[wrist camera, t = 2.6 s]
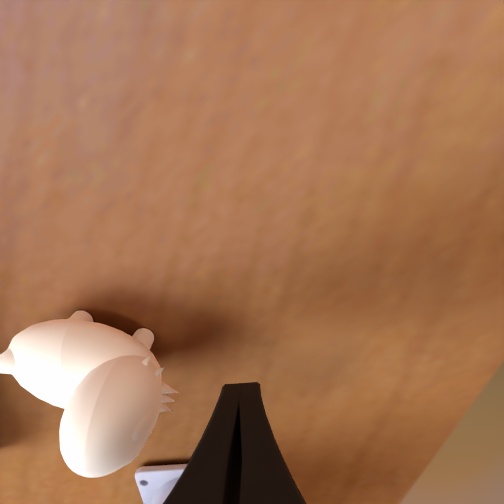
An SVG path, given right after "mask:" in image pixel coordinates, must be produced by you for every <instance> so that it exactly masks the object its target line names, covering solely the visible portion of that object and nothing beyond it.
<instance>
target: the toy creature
mask: <svg viewBox="0 0 504 504" xmlns="http://www.w3.org/2000/svg"><path fill="white" fill-rule="evenodd" d="M153 342H154V335H153V333H152V332H151V331H150V330H148V329H145V328H141V329H138V330H137V331H136V332H135V333H134V334H133V336H130V335H128V334H126V333H125V332H123V331H121V330H118V329H116V328H113V327H110V326H107V325H105V324H101V323H96V322H93V318H92V316H91V315H90V314H89V313H88V312H85V311H76V312H75V313H74V314H73V315H72V316H71V317H70V318H69V319H55V320H50V321H45V322H40V323H36V324H33V325H31V326H30V327H28V328H26V329H25V330H23V331H21V332H20V333H18V334H17V335H15V336H14V338H13V339H12V341H11V343H10V345H9V347H8V349H7V350H6V351H5V352H3V353H2V354H0V373H5V374H12V375H13V376H14V377H15V379H16V380H17V381H18V382H19V384H20V385H21V386H22V387H24V388H25V389H26V390H28V391H29V392H30V393H32V394H33V395H34V396H36V397H37V398H39V399H41V400H43V401H45V402H48V403H50V404H52V405H54V406H57V407H61V408H64V409H65V410H64V413H63V416H62V419H61V423H60V431H59V432H60V450H61V453H62V456H63V458H64V460H65V462H66V464H67V465H68V467H69V468H70V469H71V470H72V471H73V472H75V473H77V474H78V475H81V476H84V477H91V478H95V477H101V476H105V475H108V474H110V473H113V472H115V471H117V470H118V469H120V468H121V467H124V466H126V465H128V464H129V463H131V462H132V461H133V460H134V459H135V458H136V457H137V456H138V455H139V454H140V452H141V450H142V449H143V447H144V445H145V443H146V441H147V439H148V438H149V436H150V434H151V432H152V431H153V429H154V427H155V425H156V422H157V420H158V417H159V413H160V412H165V411H173V410H171V409H170V408H168V407H167V406H165V405H164V404H162V403H166V402H176V401H175V400H173V399H172V398H170V397H168V396H167V395H165V394H170V393H179V392H177V391H176V390H174V389H173V388H171V387H170V386H168V385H167V384H165V383H164V382H162V383H161V372H162V370H163V369H164V367H163V368H160V365H159V363H158V362H157V360H156V358H155V357H154V355H153V353H152V352H151V351H150V348H151V346H152V344H153Z"/></svg>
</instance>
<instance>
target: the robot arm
mask: <svg viewBox="0 0 504 504" xmlns="http://www.w3.org/2000/svg"><path fill="white" fill-rule="evenodd" d="M135 480H136V482H137V485H138V488H139V491H140V494H141V497H142V500H143V503H144V504H306V502H305V500H304V498H303V497H302V495H301V493H300V491H299V489H298V487H297V485H296V484H295V482H294V480H293V478H292V476H291V474H290V472H289V470H288V468H287V465H286V463H285V461H284V459H283V457H282V454H281V452H280V450H279V448H278V445H277V443H276V440H275V438H274V435H273V433H272V430H271V427H270V424H269V422H268V419H267V416H266V413H265V409H264V405H263V402H262V397H261V390H260V384H259V383H257V382H252V383H238V384H225V385H224V386H223V387H222V390H221V393H220V396H219V399H218V402H217V404H216V407H215V409H214V412H213V414H212V416H211V419H210V421H209V423H208V425H207V427H206V429H205V431H204V434H203V436H202V438H201V440H200V442H199V444H198V445H197V447H196V449H195V451H194V453H193V455H192V457H191V459H190V460H189V462H188V464H176V465H159V466H143V467H139V468H138V469H137V470H136V473H135Z"/></svg>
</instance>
